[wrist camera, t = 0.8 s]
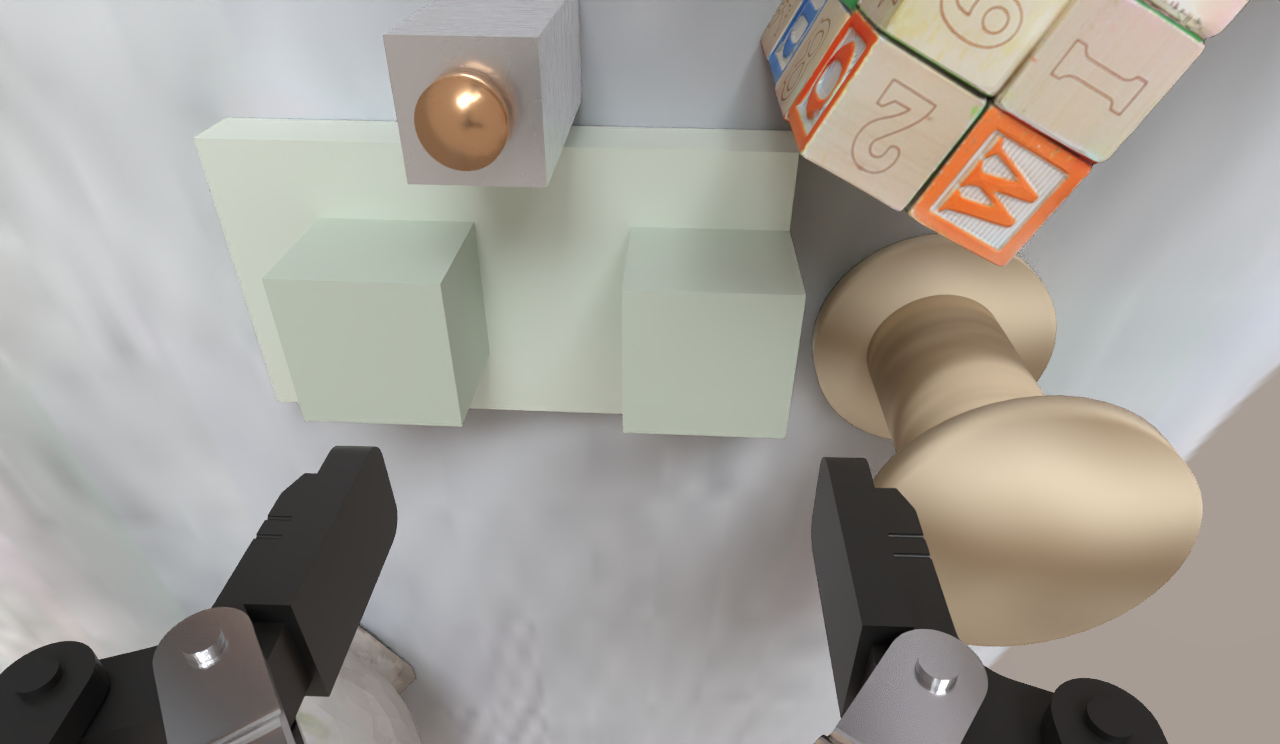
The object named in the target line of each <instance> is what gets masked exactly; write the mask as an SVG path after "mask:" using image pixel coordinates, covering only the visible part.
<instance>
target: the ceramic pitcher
mask: <svg viewBox="0 0 1280 744" xmlns="http://www.w3.org/2000/svg"><path fill="white" fill-rule="evenodd" d="M415 679H416V677H415V674H414V671H413V668H412V667H411V666H410V665H409V664H407V663H406V662H405V661H404V660H403V659H401V658H400V657H398V656H397V655H396V654H394V653H393V652H392V651H390V650H389V649H388V648H387V647H385V646H384V645H383V644H382V643H380V642H379V641H378V640H376V639H375V638H374V637H373V636H371V635H370V634H369V633H367V632H366V631H365V630H364V629H362V628H361V627H360V626H358V628H357V631H356V633H355V636H354V638H353V640H352V643H351V645H350V648H349V650H348V653H347V655H346V658H345V660H344V662H343V665H342V667H341V670H340V672H339V675H338V677H337V679H336V682H335V684H334V687H333V689H332V692H331V694H330V696H329V697H316V696H305V697H304V699H303V701H302V704H301V706H300V708H299V711H298V713H297V715H296V717H297V719H298V721H299V723H300V726H301V729H302V732H303V735H304V738H305V740H306V743H307V744H422V743H421V740H420V737H419V734H418V731H417V728H416V725H415V722H414V720H413V718H412V716H411V714H410V712H409V710H408V708H407V706H406V704H405V702H404V701H403V699H402V698H401V697H400V695H399V694H400V693H401V692H402V691H403V690H404V689H405V688H406V687H407V686H408V685H409V684H410V683H411V682H413V681H414V680H415Z"/></svg>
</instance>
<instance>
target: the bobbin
mask: <svg viewBox="0 0 1280 744" xmlns="http://www.w3.org/2000/svg"><path fill="white" fill-rule="evenodd" d="M1056 331H1057V326H1056V314H1055V309H1054V305H1053V302H1052V300H1051V297H1050V295H1049V292H1048V291H1047V289H1046V288H1045V286H1044V285H1043V283H1042V282H1041V280H1040V279H1039V278H1038V276H1037V275H1036V274H1035V273H1034V271H1033V270H1032V269H1031V268H1030V267H1029V265H1028V264H1027V263H1026V262H1025V261H1024V260H1023V259H1022V258H1021V257H1020V256H1018V255H1017V254H1016V255H1015V256H1014V257H1013V258H1012V259H1011V260H1010V261H1009V263H1008V264H1007V265H1006V266H1005V267H1000V266H997V265H995V264H993V263H991V262H989V261H987V260H985V259H983V258H982V257H980V256H978V255H976V254H974V253H972V252H971V251H969V250H967V249H965V248H963V247H961V246H960V245H958V244H956V243H954V242H953V241H951V240H949V239H947V238H945V237H944V236H942V235H940V234H938V233H935V234H928V235H921V236H917V237H913V238H909V239H906V240H902V241H900V242H897V243H894V244H892V245H889V246H887V247H885V248H883V249H881V250H879V251H877V252H875V253H873V254H872V255H870V256H869V257H867V258H866V259H864V260H863V261H861V262H860V263H858V264H857V265H856V266H855V267H853V268H852V269H851V270H850V271H849V272H847V273H846V274H845V276H844V277H843V278H842V279H841V280H840V281H839V282H838V283H837V284H836V285H835V287H834V288H833V289H832V291H831V292H830V293H829V295H828V296H827V298H826V300H825V301H824V303H823V305H822V307H821V309H820V311H819V314H818V316H817V319H816V322H815V326H814V331H813V338H812V353H813V360H814V364H815V369H816V373H817V377H818V381H819V385H820V387H821V389H822V392H823V394H824V396H825V397H826V399H827V400H828V402H829V404H830V405H831V406H832V407H833V408H834V410H835V411H836V412H837V413H838V414H839V415H840V416H842V417H843V418H844V419H845V420H846V421H848V422H849V423H851V424H852V425H854V426H856V427H857V428H859V429H861V430H863V431H866V432H868V433H870V434H873V435H876V436H879V437H883V438H888V439H892V441H893V444H894V447H895V450H896V454H895V455H894V456H893V457H892V458H891V459H890V460H889V461H888V462H887V463H886V464H885V465H884V466H883V467H882V469H881V470H880V471H879V472H878V474H877V475H876V477H875V478H874V480H873V483H874V486H875V488H897V489H898V491H899V492H900V493H901V494H902V495H903V496H904V497H905V498H906V500H907V501H908V502H909V503H910V504H911V505H912V506H913V507H914V509H915V510H916V513H917V516H918V519H919V522H920V525H921V528H922V531H923V538H924V539H925V540H926V543H927V546H928V549H929V552H930V559H932V561H933V564H934V567H935V570H936V573H937V576H938V579H939V582H940V585H941V588H942V591H943V594H944V597H945V600H946V603H947V606H948V609H949V612H950V615H951V618H952V621H953V624H954V627H955V630H956V633H957V635H958V637H959V639H960V641H962V642H963V643H965V644H966V645H976V646H1016V645H1027V644H1034V643H1040V642H1046V641H1051V640H1054V639H1059V638H1064V637H1067V636H1070V635H1074V634H1077V633H1080V632H1083V631H1086V630H1088V629H1091V628H1094V627H1096V626H1099V625H1101V624H1104V623H1106V622H1108V621H1110V620H1112V619H1114V618H1116V617H1118V616H1120V615H1122V614H1124V613H1125V612H1127V611H1128V610H1130V609H1132V608H1134V607H1135V606H1137V605H1138V604H1140V603H1141V602H1143V601H1144V600H1146V599H1147V598H1148V597H1150V596H1151V595H1152V594H1154V593H1155V592H1156V591H1157V590H1158V589H1160V588H1161V587H1162V586H1163V585H1164V584H1165V583H1166V582H1167V581H1168V580H1169V579H1170V578H1171V577H1172V576H1173V575H1174V574H1175V573H1176V571H1177V570H1178V569H1179V568H1180V567H1181V565H1182V564H1183V562H1184V561H1185V559H1186V558H1187V557H1188V555H1189V554H1190V552H1191V549H1192V547H1193V546H1194V544H1195V542H1196V539H1197V537H1198V533H1199V530H1200V527H1201V521H1202V511H1203V507H1202V498H1201V492H1200V489H1199V486H1198V484H1197V481H1196V479H1195V477H1194V475H1193V474H1192V472H1191V471H1190V469H1189V467H1188V466H1187V464H1186V463H1185V462H1184V461H1183V459H1182V458H1181V457H1180V456H1179V454H1178V453H1177V452H1176V451H1175V449H1174V448H1173V447H1172V446H1171V444H1170V443H1169V442H1168V441H1167V439H1166V438H1165V437H1164V436H1163V435H1162V434H1161V433H1160V432H1159V431H1158V430H1157V429H1156V428H1155V427H1154V426H1153V425H1151V424H1150V423H1149V422H1147V421H1146V420H1145V419H1143V418H1142V417H1140V416H1138V415H1136V414H1134V413H1132V412H1130V411H1128V410H1126V409H1125V408H1122V407H1119V406H1116V405H1113V404H1110V403H1107V402H1104V401H1099V400H1094V399H1089V398H1084V397H1074V396H1062V395H1055V396H1045V395H1044V394H1043V392H1042V390H1041V389H1040V387H1039V386H1038V384H1037V383H1036V382H1037V381H1038V380H1039V378H1040V377H1041V375H1042V373H1043V372H1044V370H1045V368H1046V366H1047V364H1048V362H1049V360H1050V357H1051V355H1052V351H1053V348H1054V344H1055V339H1056Z"/></svg>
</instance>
